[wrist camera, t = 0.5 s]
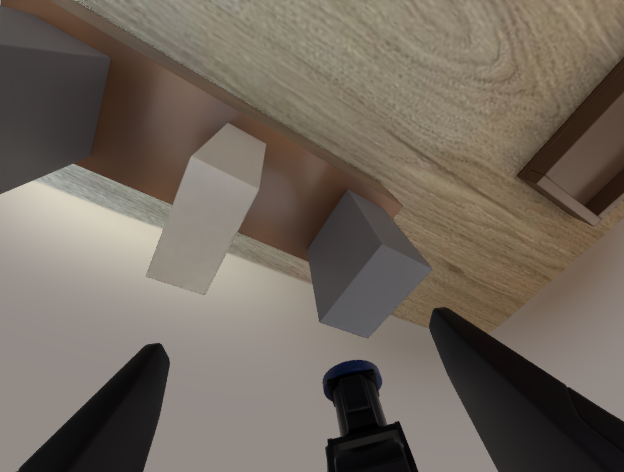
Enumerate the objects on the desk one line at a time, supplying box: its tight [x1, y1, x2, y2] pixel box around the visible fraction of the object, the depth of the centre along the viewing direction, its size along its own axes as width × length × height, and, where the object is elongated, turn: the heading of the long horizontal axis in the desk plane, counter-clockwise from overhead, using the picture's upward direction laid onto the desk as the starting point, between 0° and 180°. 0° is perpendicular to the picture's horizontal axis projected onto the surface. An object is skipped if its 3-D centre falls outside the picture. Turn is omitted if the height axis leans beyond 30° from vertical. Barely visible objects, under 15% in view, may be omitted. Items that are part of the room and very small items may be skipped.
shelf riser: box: [1, 0, 403, 262], centre depth 17 cm, size 21×7×4 cm, turn 59°
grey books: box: [0, 5, 432, 338], centre depth 13 cm, size 19×5×6 cm, turn 59°
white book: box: [146, 123, 266, 295], centre depth 12 cm, size 2×5×7 cm, turn 149°
